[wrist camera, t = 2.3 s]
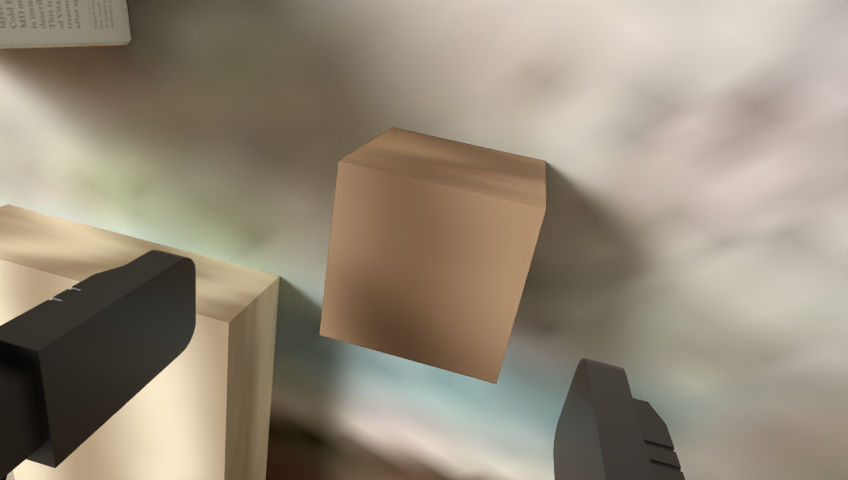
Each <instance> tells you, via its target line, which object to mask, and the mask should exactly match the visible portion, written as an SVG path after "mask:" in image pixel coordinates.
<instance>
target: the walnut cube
mask: <svg viewBox="0 0 848 480" xmlns="http://www.w3.org/2000/svg"><path fill="white" fill-rule="evenodd" d="M545 211H546V162H545V161H543V160H538V159H534V158H529V157H525V156H520V155H516V154H511V153H507V152H502V151H497V150H493V149H488V148H484V147H479V146H475V145H470V144H466V143H461V142H456V141H452V140H447V139H443V138H438V137H434V136H429V135H425V134H420V133H416V132H411V131H406V130H402V129H397V128H391V129H389V130H388V131H386V132H385V133H383V134H381V135H380V136H378V137H377V138H375V139H373V140H372V141H370V142H368V143H367V144H365V145H364V146H362V147H360V148H359V149H357V150H356V151H354V152H352V153H351V154H349V155H348V156H346V157H344V158H343V159H341V160H340V161H339V162H338V171H337V180H336V189H335V199H334V208H333V217H332V226H331V235H330V244H329V253H328V262H327V271H326V280H325V289H324V298H323V307H322V316H321V325H320V334H319V335H322V336H326V337H329V338H333V339H336V340H340V341H344V342H347V343H351V344H354V345H358V346H362V347H365V348H369V349H372V350H376V351H380V352H383V353H387V354H390V355H394V356H398V357H401V358H405V359H408V360H412V361H416V362H419V363H423V364H426V365H430V366H434V367H437V368H441V369H444V370H448V371H452V372H455V373H459V374H462V375H466V376H470V377H473V378H477V379H480V380H484V381H488V382H491V383H495V384H497V380H498V377H499V373H500V370H501V366H502V363H503V359H504V356H505V352H506V349H507V345H508V342H509V338H510V335H511V331H512V328H513V324H514V321H515V317H516V313H517V310H518V306H519V303H520V299H521V296H522V292H523V289H524V285H525V282H526V278H527V275H528V271H529V268H530V264H531V261H532V257H533V254H534V250H535V247H536V243H537V240H538V236H539V233H540V229H541V225H542V222H543V218H544V215H545Z"/></svg>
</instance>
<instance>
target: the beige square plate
mask: <svg viewBox="0 0 848 480" xmlns="http://www.w3.org/2000/svg"><path fill="white" fill-rule="evenodd" d="M151 250H160V251H164V252H168V253H172V254H176V255H180V256H184V257H188V258H190V259H192V260H193V262H194V264H195V268H196V325H195V330H194V334H193V337H192V339H191V341H190V343H189V345H188V346H187V348H186V349H185V350H184V351H183V352H182V353H181V354H180V355H179V356H178V357H177V358H176V359H175V360H174V361H172V362H171V363H170V364H169V365H168V366H167V367H166V368H165V369H164V370H163V371H161V372H160V373H159V374H158V375H157V376H156V377H155V378H154V379H153V380H152V381H151V382H149V383H148V384H147V385H146V386H145V387H144V388H143V389H142V390H141V391H140V392H138V393H137V394H136V395H135V396H134V397H133V398H132V399H131V400H130V401H129V402H127V403H126V404H125V405H124V406H123V407H122V408H121V409H120V410H119V411H118V412H117V413H115V414H114V415H113V416H112V417H111V418H110V419H109V420H108V421H107V422H106V423H104V424H103V425H102V426H101V427H100V428H99V429H98V430H97V431H96V432H95V433H93V434H92V435H91V436H90V437H89V438H88V439H87V440H86V441H85V442H84V443H83V444H81V445H80V446H79V447H78V448H77V449H76V450H75V451H74V452H73V453H72V454H70V455H69V456H68V457H67V458H66V459H65V460H64V461H63V462H62V463H61V464H60V465H58V466H57V467H56V468H53V467H49V466H46V465H43V464H40V463H36V462H33V461H30V460H27V459H25V460H24V461H23V462H22V463H21V464H20V465H18V466H17V467H16V468H15V469H14V470H13V473H14V479H15V480H266V466H267V452H268V437H269V423H270V409H271V394H272V380H273V366H274V351H275V337H276V323H277V308H278V294H279V280H280V276H278V275H274V274H270V273H267V272H263V271H259V270H255V269H251V268H248V267H244V266H240V265H236V264H232V263H229V262H225V261H221V260H217V259H213V258H210V257H206V256H202V255H198V254H194V253H191V252H187V251H183V250H179V249H175V248H172V247H168V246H164V245H160V244H156V243H153V242H149V241H145V240H141V239H137V238H134V237H130V236H126V235H122V234H118V233H115V232H111V231H107V230H103V229H99V228H96V227H92V226H88V225H84V224H80V223H77V222H73V221H69V220H65V219H61V218H58V217H54V216H50V215H46V214H42V213H39V212H35V211H31V210H27V209H23V208H20V207H16V206H12V205H5V206H2V207H0V326H1V325H3V324H4V323H6V322H8V321H10V320H12V319H14V318H15V317H17V316H19V315H21V314H23V313H24V312H26V311H28V310H30V309H32V308H34V307H35V306H37V305H39V304H41V303H43V302H45V301H46V300H52V299H53V297H54V296H55V295H57V294H59V293H61V292H63V291H65V290H66V289H70V290H71V288H72V286H74V285H75V284H77V283H79V282H81V281H83V280H85V279H86V278H88V277H90V276H92V275H94V274H96V273H100V272H103V271H107V270H110V269H114V268H117V267H121V266H124V265H126V264H128V263H129V262H131V261H133V260H135V259H136V258H138V257H140V256H142V255H143V254H145V253H147V252H149V251H151Z"/></svg>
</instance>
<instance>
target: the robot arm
mask: <svg viewBox="0 0 848 480" xmlns="http://www.w3.org/2000/svg"><path fill="white" fill-rule="evenodd" d="M195 325H196V268H195V264H194V262H193V260H192V259H190V258H188V257H184V256H180V255H176V254H172V253H168V252H164V251H160V250H151V251H149V252H147V253H145V254H143V255H142V256H140V257H138V258H136V259H135V260H133V261H131V262H129V263H128V264H126V265H124V266H121V267H117V268H114V269H110V270H107V271H103V272H100V273H96V274H94V275H92V276H90V277H88V278H86V279H85V280H83V281H81V282H79V283H77V284H75V285H74V286H72V288H71V290H70V289H66V290H65V291H63V292H61V293H59V294H57V295H55V296H54V297H53V299H52V300H46V301H45V302H43V303H41V304H39V305H37V306H35V307H34V308H32V309H30V310H28V311H26V312H24V313H23V314H21V315H19V316H17V317H15V318H14V319H12V320H10V321H8V322H6V323H4V324H3V325H1V326H0V480H15V479H14V473H13V470H14V469H15V468H16V467H17V466H18V465H20V464H21V463H22V462H23V461H24V460H25V459H27V460H30V461H33V462H36V463H40V464H43V465H46V466H49V467H53V468H56V467H57V466H58V465H60V464H61V463H62V462H63V461H64V460H65V459H66V458H67V457H68V456H69V455H70V454H72V453H73V452H74V451H75V450H76V449H77V448H78V447H79V446H80V445H81V444H83V443H84V442H85V441H86V440H87V439H88V438H89V437H90V436H91V435H92V434H93V433H95V432H96V431H97V430H98V429H99V428H100V427H101V426H102V425H103V424H104V423H106V422H107V421H108V420H109V419H110V418H111V417H112V416H113V415H114V414H115V413H117V412H118V411H119V410H120V409H121V408H122V407H123V406H124V405H125V404H126V403H127V402H129V401H130V400H131V399H132V398H133V397H134V396H135V395H136V394H137V393H138V392H140V391H141V390H142V389H143V388H144V387H145V386H146V385H147V384H148V383H149V382H151V381H152V380H153V379H154V378H155V377H156V376H157V375H158V374H159V373H160V372H161V371H163V370H164V369H165V368H166V367H167V366H168V365H169V364H170V363H171V362H172V361H174V360H175V359H176V358H177V357H178V356H179V355H180V354H181V353H182V352H183V351H184V350H185V349H186V348H187V346H188V345H189V343H190V341H191V339H192V337H193V334H194V330H195ZM553 454H554V474H555V480H685V478H684V475H683V472H680V469H681V466H680V463H679V460H678V457H677V455H676V452H674V446H673V443H672V440H671V437H670V434H669V431H668V428H667V426H666V424H665V423H664V421H663V420H662V419H661V418H660V416H659V415H658V414H657V413H656V412H655V410H654V409H653V408H652V407H651V405H650V404H649V403H648V402H645V401H641V400H638V399H634V398H632V395H631V391H630V388H629V384H628V381H627V377H626V373H625V371H624V369H623V368H620V367H616V366H612V365H608V364H604V363H600V362H596V361H592V360H589V359H585V358H583V359H582V360H581V361H580V362H579V364H578V367H577V369H576V372H575V375H574V378H573V381H572V384H571V386H570V389H569V392H568V395H567V398H566V401H565V404H564V406H563V409H562V412H561V415H560V418H559V421H558V424H557V428H556V433H555V439H554V451H553Z"/></svg>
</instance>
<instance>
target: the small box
mask: <svg viewBox="0 0 848 480" xmlns="http://www.w3.org/2000/svg"><path fill="white" fill-rule="evenodd" d="M131 39H132V38H131V32H130V24H129V16H128V8H127V1H126V0H0V49H9V48H54V47H81V46H119V45H128V44H129V42H130V41H131Z"/></svg>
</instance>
